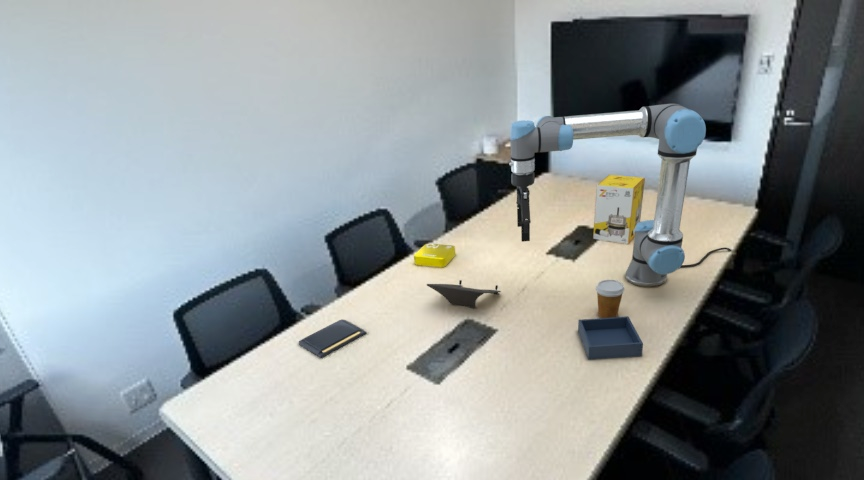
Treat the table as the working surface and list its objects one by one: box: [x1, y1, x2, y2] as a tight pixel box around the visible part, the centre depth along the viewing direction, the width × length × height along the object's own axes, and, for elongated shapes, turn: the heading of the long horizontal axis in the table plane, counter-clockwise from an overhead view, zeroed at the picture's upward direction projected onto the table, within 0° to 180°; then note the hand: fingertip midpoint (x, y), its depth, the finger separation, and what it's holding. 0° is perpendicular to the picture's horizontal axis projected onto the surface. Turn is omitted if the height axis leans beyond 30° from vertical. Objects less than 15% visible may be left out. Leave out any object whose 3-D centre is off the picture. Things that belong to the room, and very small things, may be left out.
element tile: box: [413, 243, 456, 268], centre depth 240 cm, size 15×15×5 cm
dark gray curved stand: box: [426, 279, 502, 309], centre depth 204 cm, size 23×23×9 cm
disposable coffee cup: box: [595, 279, 626, 318], centre depth 187 cm, size 10×10×12 cm
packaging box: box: [592, 174, 646, 245], centre depth 242 cm, size 16×16×25 cm
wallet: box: [298, 319, 367, 359], centre depth 190 cm, size 20×2×15 cm
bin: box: [577, 316, 644, 361], centre depth 174 cm, size 17×17×5 cm
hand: (523, 233), depth 186 cm, fingers open, 13 cm apart
